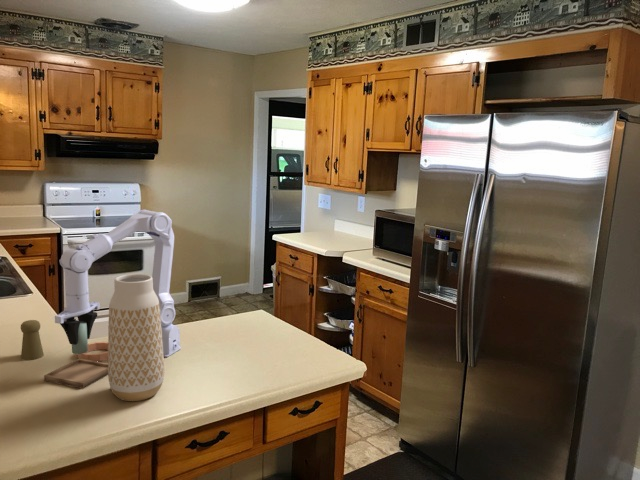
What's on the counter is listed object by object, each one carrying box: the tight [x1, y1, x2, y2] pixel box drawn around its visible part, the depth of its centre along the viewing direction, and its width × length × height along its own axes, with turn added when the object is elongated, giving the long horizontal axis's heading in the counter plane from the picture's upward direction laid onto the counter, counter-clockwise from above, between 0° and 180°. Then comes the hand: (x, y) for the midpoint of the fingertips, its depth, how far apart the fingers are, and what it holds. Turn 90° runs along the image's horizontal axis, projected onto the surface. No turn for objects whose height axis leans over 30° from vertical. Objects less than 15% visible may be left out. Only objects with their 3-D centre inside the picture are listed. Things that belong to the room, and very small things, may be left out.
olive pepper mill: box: [20, 319, 45, 361], centre depth 161 cm, size 6×6×11 cm
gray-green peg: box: [71, 321, 89, 355], centre depth 148 cm, size 4×4×8 cm
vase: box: [107, 273, 165, 402], centre depth 138 cm, size 14×14×31 cm
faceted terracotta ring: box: [77, 341, 108, 362], centre depth 164 cm, size 11×11×2 cm
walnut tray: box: [43, 358, 108, 389], centre depth 150 cm, size 13×13×2 cm
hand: (79, 341), depth 148 cm, fingers closed on gray-green peg, 4 cm apart
